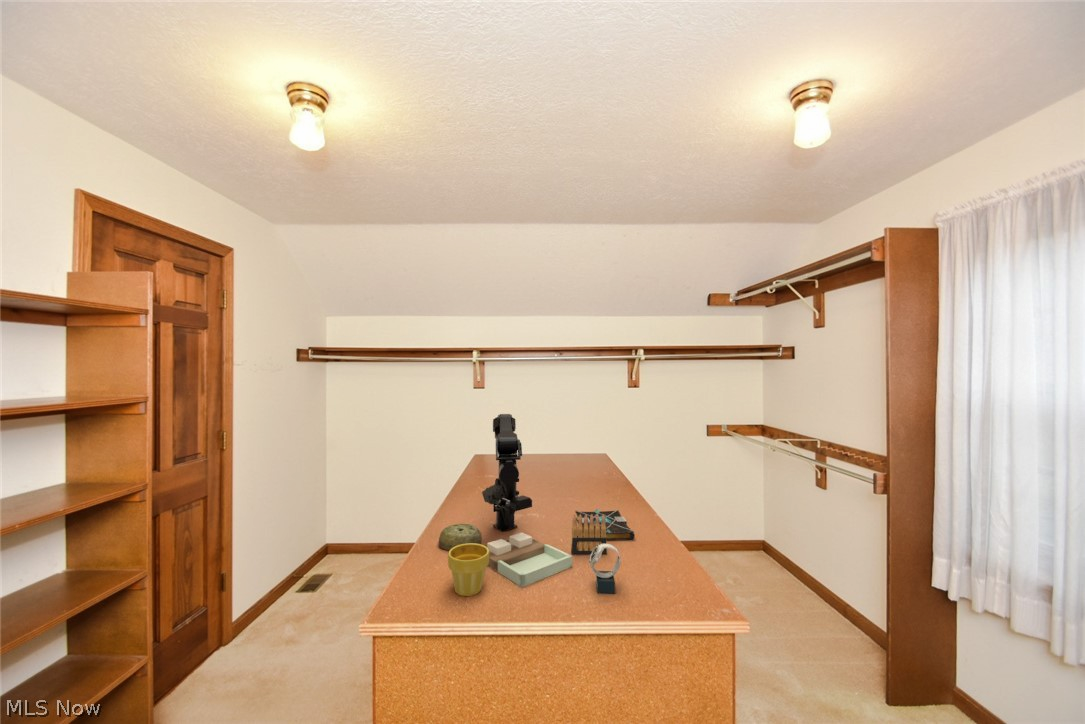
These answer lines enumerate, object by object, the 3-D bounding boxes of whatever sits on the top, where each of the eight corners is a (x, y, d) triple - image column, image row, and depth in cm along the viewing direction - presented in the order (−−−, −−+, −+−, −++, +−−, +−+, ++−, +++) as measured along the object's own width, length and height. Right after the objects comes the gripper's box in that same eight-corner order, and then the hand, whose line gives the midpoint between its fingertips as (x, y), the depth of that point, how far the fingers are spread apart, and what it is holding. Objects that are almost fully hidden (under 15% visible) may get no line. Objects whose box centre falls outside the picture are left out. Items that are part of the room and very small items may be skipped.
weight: (489, 539, 143) (489, 524, 143) (465, 556, 131) (465, 539, 131) (455, 533, 149) (455, 518, 149) (429, 548, 137) (429, 532, 137)
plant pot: (495, 593, 109) (495, 554, 109) (455, 604, 104) (455, 563, 104) (480, 576, 118) (480, 540, 118) (442, 585, 113) (442, 547, 113)
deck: (476, 558, 129) (476, 550, 129) (524, 542, 140) (524, 534, 141) (497, 571, 120) (497, 562, 120) (546, 553, 132) (546, 545, 132)
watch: (588, 582, 115) (588, 540, 115) (619, 583, 114) (619, 541, 114) (589, 593, 109) (589, 549, 109) (621, 594, 109) (621, 550, 109)
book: (634, 542, 142) (634, 526, 142) (583, 543, 141) (583, 527, 141) (619, 518, 164) (619, 505, 164) (574, 519, 163) (574, 506, 163)
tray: (497, 571, 120) (497, 561, 120) (546, 553, 132) (546, 543, 132) (522, 587, 112) (522, 575, 112) (572, 566, 124) (572, 556, 124)
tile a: (509, 542, 134) (509, 536, 134) (522, 538, 137) (522, 532, 137) (519, 548, 130) (519, 541, 130) (532, 543, 134) (532, 537, 134)
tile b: (487, 549, 129) (487, 543, 129) (501, 545, 132) (501, 538, 132) (497, 555, 125) (497, 548, 125) (511, 550, 128) (511, 543, 128)
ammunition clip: (571, 554, 132) (571, 515, 132) (571, 552, 133) (571, 512, 133) (607, 554, 132) (607, 514, 132) (606, 552, 133) (606, 512, 134)
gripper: (470, 473, 141) (470, 522, 141) (503, 486, 127) (503, 539, 127) (498, 468, 149) (498, 514, 148) (533, 479, 134) (533, 530, 134)
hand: (507, 524), depth 139 cm, fingers closed
